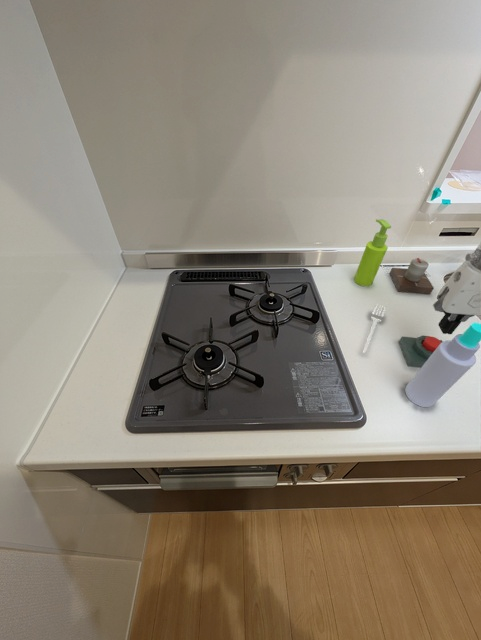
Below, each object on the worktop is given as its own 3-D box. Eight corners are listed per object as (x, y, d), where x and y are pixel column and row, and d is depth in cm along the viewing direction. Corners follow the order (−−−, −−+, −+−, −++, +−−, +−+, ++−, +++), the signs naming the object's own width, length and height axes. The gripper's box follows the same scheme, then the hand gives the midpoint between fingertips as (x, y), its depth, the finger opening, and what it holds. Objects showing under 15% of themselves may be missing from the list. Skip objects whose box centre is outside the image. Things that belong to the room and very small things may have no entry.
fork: (356, 351, 71) (359, 347, 70) (373, 307, 84) (376, 302, 82) (369, 357, 70) (372, 352, 69) (385, 311, 82) (387, 306, 81)
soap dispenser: (366, 273, 95) (388, 217, 81) (375, 285, 90) (401, 228, 76) (350, 274, 95) (369, 218, 81) (358, 287, 90) (381, 229, 76)
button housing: (437, 345, 73) (445, 335, 70) (450, 370, 67) (459, 360, 64) (398, 341, 73) (404, 331, 70) (407, 366, 68) (415, 356, 65)
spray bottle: (404, 401, 61) (461, 334, 45) (404, 380, 65) (457, 311, 49) (434, 412, 59) (504, 346, 44) (433, 389, 63) (497, 321, 48)
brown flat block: (419, 275, 95) (422, 269, 93) (430, 294, 88) (434, 287, 86) (389, 273, 96) (392, 267, 94) (397, 291, 88) (401, 285, 87)
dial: (422, 282, 88) (431, 266, 84) (406, 281, 88) (415, 265, 84) (417, 273, 91) (425, 258, 87) (402, 272, 92) (410, 257, 88)
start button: (435, 341, 69) (438, 336, 68) (440, 352, 66) (444, 348, 65) (420, 340, 69) (423, 335, 68) (425, 351, 66) (428, 346, 65)
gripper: (462, 270, 49) (415, 339, 61) (554, 276, 47) (487, 344, 60) (444, 248, 54) (405, 315, 67) (527, 252, 53) (471, 320, 66)
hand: (444, 329), depth 63 cm, fingers closed
